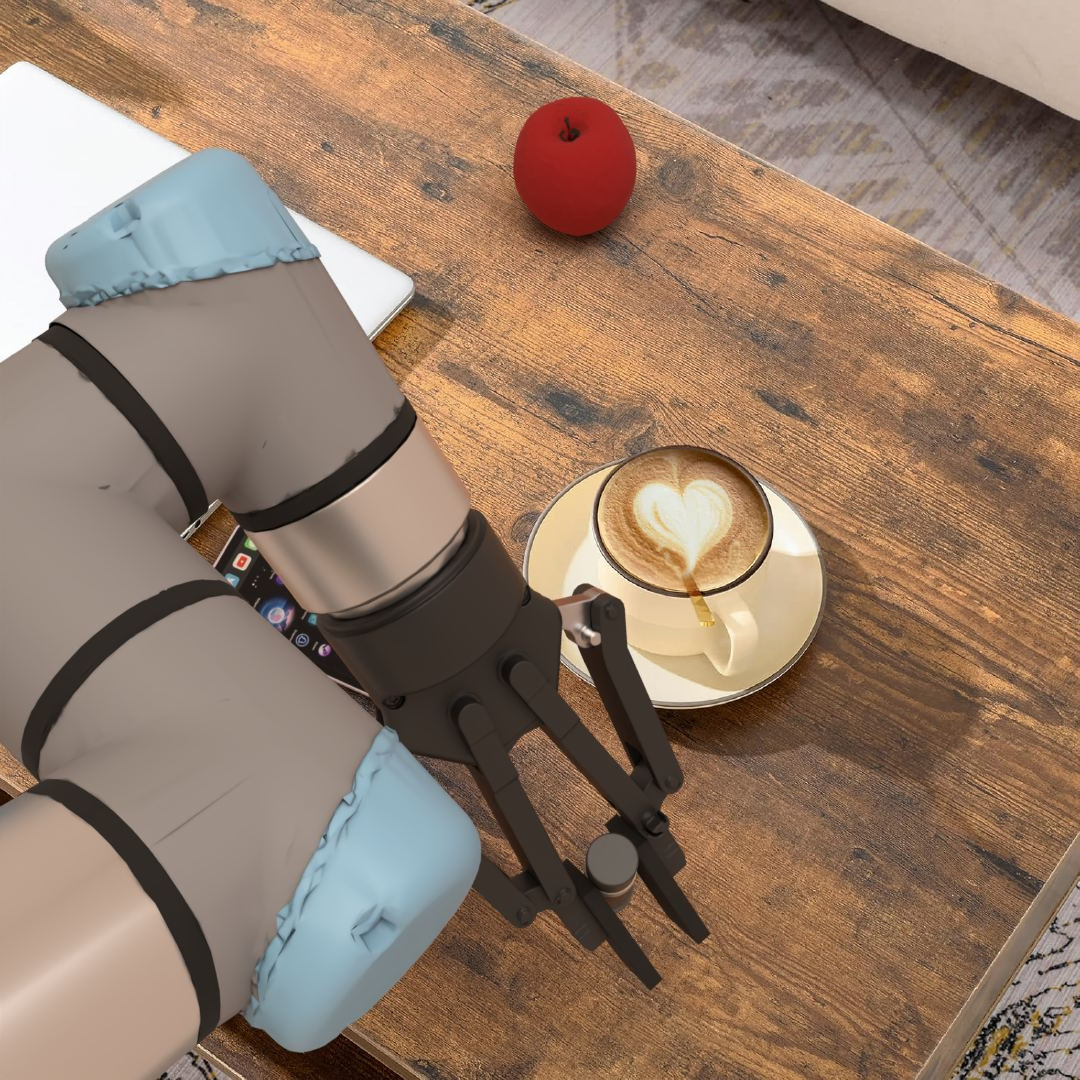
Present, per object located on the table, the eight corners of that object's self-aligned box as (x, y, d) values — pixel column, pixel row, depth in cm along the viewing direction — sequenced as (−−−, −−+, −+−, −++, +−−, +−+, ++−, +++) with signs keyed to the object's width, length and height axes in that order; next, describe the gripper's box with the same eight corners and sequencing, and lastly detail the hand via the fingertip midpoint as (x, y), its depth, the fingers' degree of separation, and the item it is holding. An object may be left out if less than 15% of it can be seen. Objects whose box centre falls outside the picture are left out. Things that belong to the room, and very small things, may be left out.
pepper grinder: (604, 926, 57) (610, 905, 48) (569, 885, 58) (568, 855, 48) (643, 890, 57) (656, 862, 48) (608, 850, 58) (614, 814, 49)
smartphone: (243, 514, 77) (444, 600, 74) (245, 518, 78) (445, 603, 75) (184, 612, 75) (390, 705, 72) (187, 616, 75) (392, 708, 72)
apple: (655, 232, 86) (664, 136, 77) (542, 272, 85) (538, 179, 76) (607, 142, 89) (610, 40, 80) (497, 179, 88) (488, 80, 79)
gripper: (507, 426, 48) (736, 803, 58) (203, 657, 45) (503, 1017, 55) (593, 451, 42) (835, 871, 52) (246, 724, 38) (578, 1120, 48)
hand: (664, 946), depth 53 cm, fingers closed on pepper grinder, 2 cm apart
